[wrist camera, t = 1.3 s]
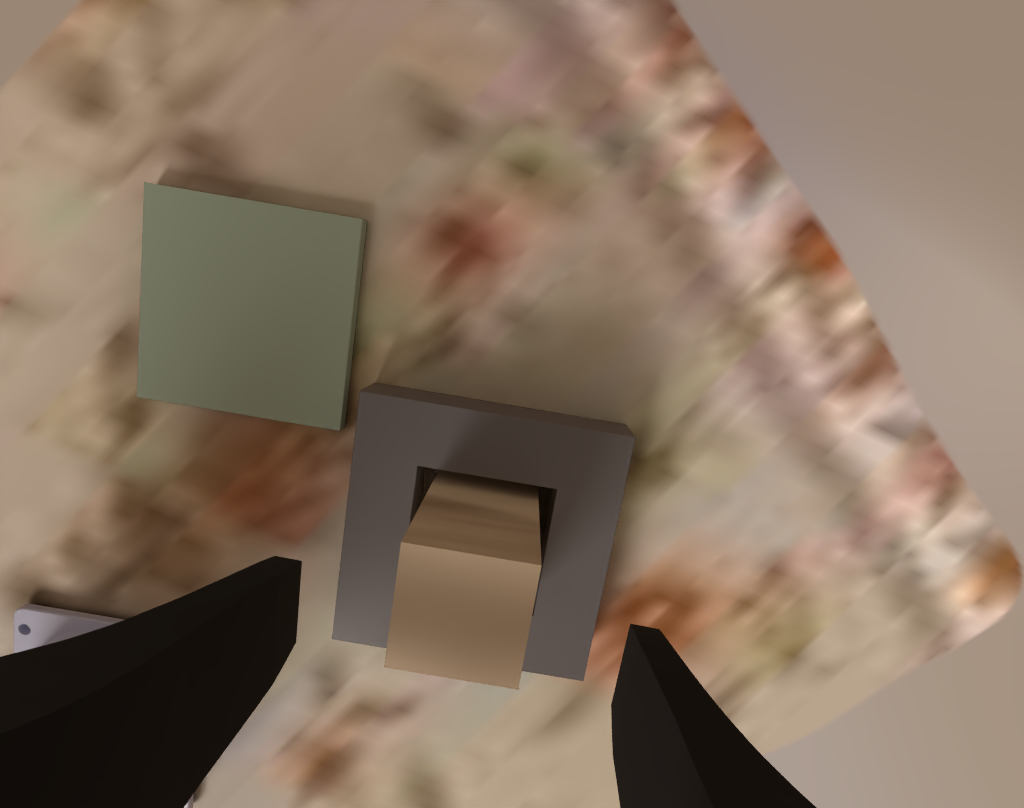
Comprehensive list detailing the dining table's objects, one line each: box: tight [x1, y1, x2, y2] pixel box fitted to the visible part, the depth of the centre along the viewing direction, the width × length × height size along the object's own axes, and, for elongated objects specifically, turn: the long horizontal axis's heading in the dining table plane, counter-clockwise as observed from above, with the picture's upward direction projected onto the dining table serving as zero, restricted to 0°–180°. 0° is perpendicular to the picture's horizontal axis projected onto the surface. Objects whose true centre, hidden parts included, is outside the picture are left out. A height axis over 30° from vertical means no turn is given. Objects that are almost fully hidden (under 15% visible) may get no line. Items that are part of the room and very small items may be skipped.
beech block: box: [384, 469, 542, 689], centre depth 19 cm, size 4×4×7 cm
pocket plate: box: [332, 383, 636, 681], centre depth 22 cm, size 10×10×2 cm
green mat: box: [137, 182, 367, 431], centre depth 21 cm, size 8×8×1 cm
